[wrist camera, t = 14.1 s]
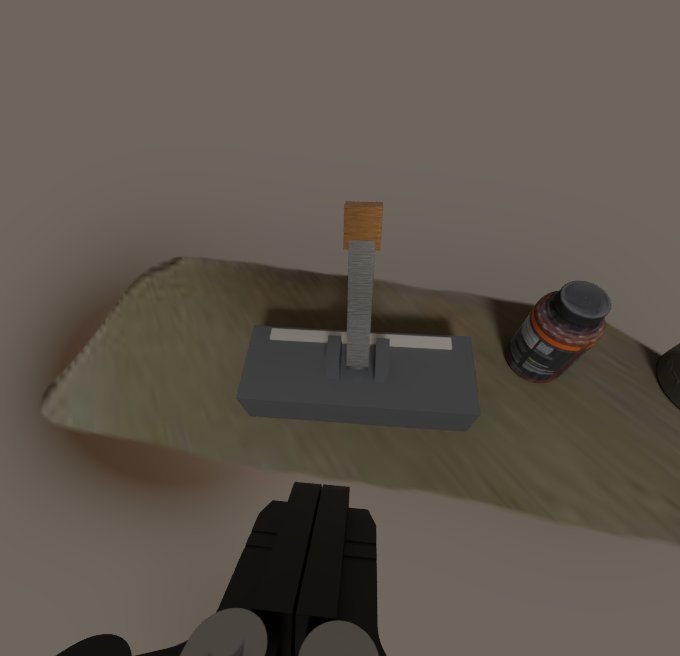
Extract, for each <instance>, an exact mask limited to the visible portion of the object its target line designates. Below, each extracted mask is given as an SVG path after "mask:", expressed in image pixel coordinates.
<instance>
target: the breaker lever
mask: <svg viewBox="0 0 680 656" xmlns="http://www.w3.org/2000/svg"><path fill="white" fill-rule="evenodd" d="M382 214H383V203H382V202H348V201H346V203H345V205H344V249H349V261H348V309H347V358H346V370H360V371H368V364H369V346H370V328H371V311H372V293H373V275H374V258H375V257H374V256H375V250H380V246H381V230H382Z"/></svg>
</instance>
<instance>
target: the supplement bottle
mask: <svg viewBox="0 0 680 656" xmlns="http://www.w3.org/2000/svg"><path fill="white" fill-rule="evenodd" d="M610 310H611V301H610V298H609V297H608V295H607V293H605V291H604V290H602V289H601V288H599V287H598V286H597V285H594V284H592V283H589V282H585V281H572V282H569V283H567V284H565V285H564V286H563V287H562V288H561V290H560V291H555V292H551V293H549V294H547V295H545V296H543V297H542V298H541V299H540V300H539V301H538V302H537V304H536V305H535V306H534V308H533V309H532V311H531V312H530V314H529V315H528V316H527V318H526V319H525V321H524V322H523V324H522V325H521V327H520V328H519V329H518V331H517V332H516V334H515V335H514V337H513V338H512V340H511V341H510V343H509V344H508V346H507V350H506V358H507V361H508V364H509V365H510V367H511V368H512V370H513V371H514V372H515V373H516V374H518V375H519V376H520V377H522V378H524V379H526V380H528V381H531V382H535V383H546V382H550V381H553V380H555V379H556V378H557V377H559V376H560V375H561V374H562V373H563V372H565V371H566V370H567V369H568V368H569V367H570V366H571V365H572V364H573V363H574V362H576V361H577V360H578V359H579V358H580V357H581V356H582V355H583V354H584V353H585V352H586V351H588V350H589V349H590V348H591V347H592V346H593V345H594V344H595V343H596V342H597V341H598V340H599V339H600V338H601V336H602V335H603V333H604V331H605V326H606V324H605V318H604V317H605V316H606V315H607V314H608V313H609V312H610Z"/></svg>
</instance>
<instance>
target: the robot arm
mask: <svg viewBox="0 0 680 656" xmlns="http://www.w3.org/2000/svg"><path fill="white" fill-rule="evenodd" d="M657 375H658V379H659V382H660V384H661V386H662V388H663V390H664V392H665V393H666V394H667V396H668V397H669V398H670V400H671V401H672V402H673V403H674V404H675V405H676V406H677V407H678V408H679V409H680V344H678V345H676V346H675V347H673V348H672V349H670V350H669V351H667V352H666V353H665V354H663V355H662V357H661V358H660V360H659V362H658V365H657ZM376 560H377V553H376V524H375V522H374V520H373V519H372V517H371V515H370V513H369V511H368V510H366V509H356V508H349V487H345V486H334V485H323V487H322V486H321V484H311V483H300V482H295V483H294V485H293V488H292V491H291V494H290V497H289V500H288V502H283V501H274V500H273V501H272V502H270V504H268V505H267V506H266V507H265V508H264V509H263V510H262V511H261V512H260V513H259V515H258V517H257V519H256V522H255V524H254V527H253V529H252V532H251V534H250V536H249V538H248V541H247V543H246V546H245V549H244V550H243V552H242V554H241V557H240V559H239V561H238V564H237V566H236V568H235V571H234V573H233V575H232V578H231V580H230V582H229V585H228V587H227V589H226V592H225V594H224V597H223V599H222V601H221V603H220V606H219V608H218V610H217V612H216V613H215V614H213V615H211V616H210V617H208V618H207V619H205V620H204V621H203V622H202V623H201V624H200V625H199V626H198V627H197V628H196V629H195V631H194V632H193V633H192V635H191V636H190V638H189V640H187V641H186V642H184V643H181V644H179V645H177V646H174V647H170V648H167V649H163V650H158V651H154V652H149V653H145V654H140V655H136V656H386V654H385V652H384V650H383V648H382V645H381V643H380V639H379V635H378V627H377V563H376ZM56 656H132V655H131V650H130V647H129V645H128V643H127V642H126V641H125V640H124V639H123V638H121V637H119V636H117V635H112V634H102V635H96V636H92V637H89V638H86V639H84V640H82V641H80V642H78V643H76V644H74V645H72V646H70V647H69V648H67V649H66V650H65V651H62V652H61V653H59V654H58V655H56Z"/></svg>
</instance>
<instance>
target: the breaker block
mask: <svg viewBox="0 0 680 656" xmlns="http://www.w3.org/2000/svg"><path fill="white" fill-rule="evenodd" d="M346 358H347V330H332V329H313V328H293V327H274V326H255V325H254V329H253V333H252V337H251V341H250V345H249V349H248V353H247V357H246V361H245V365H244V369H243V373H242V377H241V381H240V385H239V389H238V393H237V397H236V399H237V400H238V401H239V402H240V404H241V405H242V406H243V408H244V409H245V410H246V412H247V413H248V414H249V416H258V417H272V418H286V419H300V420H314V421H327V422H341V423H355V424H369V425H383V426H397V427H411V428H425V429H438V430H452V431H466V430H467V429H468V428H469V427H470V426H471V425H472V424H473V423H474V421H475V420H476V419H477V418H478V417H479V416H480V408H479V400H478V392H477V384H476V376H475V368H474V360H473V352H472V345H471V337H465V336H446V335H427V334H408V333H389V332H370V346H369V364H368V371H360V370H346Z"/></svg>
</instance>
